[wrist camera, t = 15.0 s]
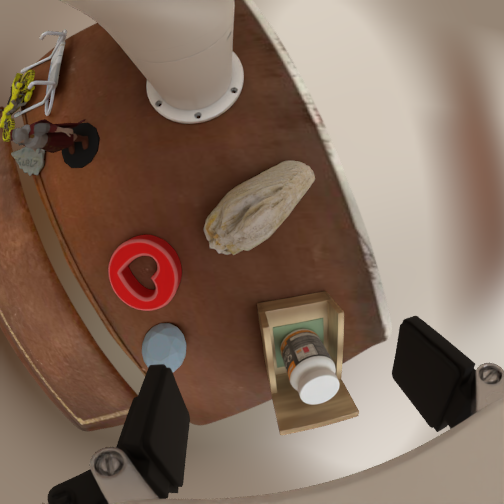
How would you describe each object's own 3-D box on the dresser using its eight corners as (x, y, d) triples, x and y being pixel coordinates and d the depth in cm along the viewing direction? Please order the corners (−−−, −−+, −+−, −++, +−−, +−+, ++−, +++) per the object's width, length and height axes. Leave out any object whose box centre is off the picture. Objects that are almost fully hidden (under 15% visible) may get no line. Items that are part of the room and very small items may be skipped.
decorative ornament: (107, 244, 33) (98, 249, 30) (171, 227, 34) (165, 231, 31) (129, 307, 36) (121, 316, 33) (190, 295, 36) (187, 305, 33)
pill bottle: (273, 337, 35) (287, 385, 26) (312, 320, 35) (338, 363, 25) (287, 366, 37) (302, 414, 27) (323, 350, 36) (348, 394, 27)
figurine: (64, 174, 30) (-8, 175, 16) (61, 127, 28) (-7, 110, 14) (101, 161, 31) (32, 153, 16) (98, 112, 29) (35, 83, 14)
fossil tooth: (314, 191, 35) (220, 254, 35) (289, 150, 33) (192, 214, 33) (360, 193, 24) (230, 285, 24) (329, 136, 22) (188, 227, 22)
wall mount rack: (59, 103, 24) (21, 104, 19) (39, 131, 31) (10, 134, 27) (77, 17, 20) (44, 14, 16) (50, 57, 28) (24, 57, 23)
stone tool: (45, 144, 28) (38, 177, 29) (51, 145, 29) (44, 177, 30) (10, 141, 26) (4, 172, 27) (16, 142, 28) (10, 172, 29)
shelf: (256, 303, 37) (271, 364, 24) (325, 290, 38) (369, 341, 24) (266, 369, 40) (280, 435, 27) (326, 356, 41) (358, 416, 27)
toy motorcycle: (45, 73, 24) (30, 69, 24) (27, 68, 20) (14, 65, 20) (17, 144, 27) (5, 134, 27) (-1, 144, 23) (-11, 133, 24)
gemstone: (202, 373, 36) (186, 370, 31) (158, 379, 37) (139, 376, 32) (195, 324, 40) (179, 315, 35) (154, 333, 41) (136, 326, 36)
